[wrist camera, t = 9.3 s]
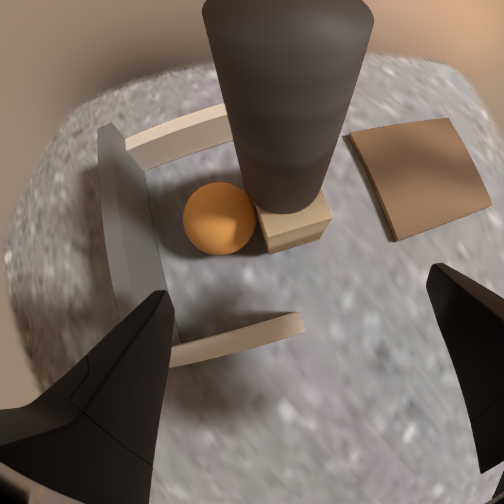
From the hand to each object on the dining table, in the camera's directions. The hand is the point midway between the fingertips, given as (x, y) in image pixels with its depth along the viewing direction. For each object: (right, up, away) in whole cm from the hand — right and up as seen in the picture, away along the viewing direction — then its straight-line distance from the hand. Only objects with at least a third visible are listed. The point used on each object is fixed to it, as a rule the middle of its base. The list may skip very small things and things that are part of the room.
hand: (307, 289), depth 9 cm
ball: (-4, +3, +7) cm, 8 cm away
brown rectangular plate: (+10, +7, +9) cm, 15 cm away
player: (0, +4, +9) cm, 9 cm away
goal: (-5, +2, +9) cm, 10 cm away
